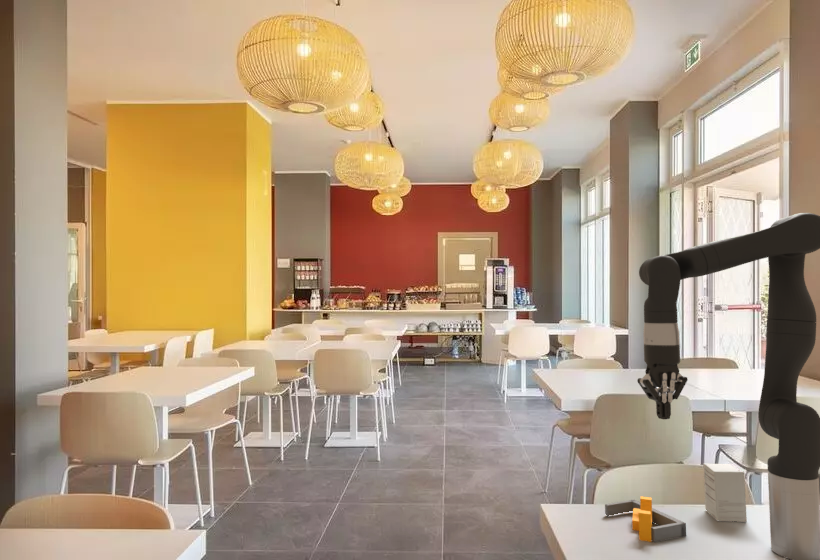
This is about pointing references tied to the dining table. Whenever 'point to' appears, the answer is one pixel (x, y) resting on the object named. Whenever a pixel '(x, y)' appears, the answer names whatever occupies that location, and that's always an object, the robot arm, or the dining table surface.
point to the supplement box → (725, 492)
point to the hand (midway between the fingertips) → (663, 418)
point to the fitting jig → (667, 524)
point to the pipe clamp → (643, 519)
